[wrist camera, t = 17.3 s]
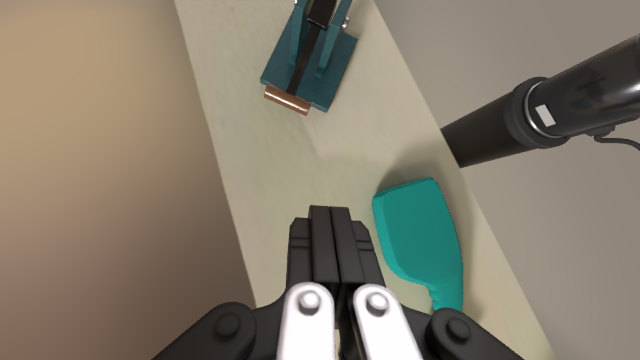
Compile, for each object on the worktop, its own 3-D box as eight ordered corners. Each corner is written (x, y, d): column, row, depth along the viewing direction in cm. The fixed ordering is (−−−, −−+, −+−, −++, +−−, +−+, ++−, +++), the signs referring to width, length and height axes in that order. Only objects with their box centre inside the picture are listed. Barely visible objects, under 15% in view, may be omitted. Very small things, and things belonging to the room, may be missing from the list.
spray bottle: (430, 175, 41) (481, 342, 39) (362, 195, 39) (413, 372, 37) (442, 173, 38) (498, 352, 36) (370, 193, 36) (426, 386, 34)
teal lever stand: (326, 112, 39) (348, 69, 28) (260, 82, 38) (255, 24, 27) (355, 43, 41) (387, -23, 30) (293, 13, 40) (302, -68, 29)
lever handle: (307, 115, 35) (305, 117, 33) (266, 96, 34) (261, 97, 32) (349, 13, 31) (351, 7, 29) (304, -10, 30) (302, -18, 28)
